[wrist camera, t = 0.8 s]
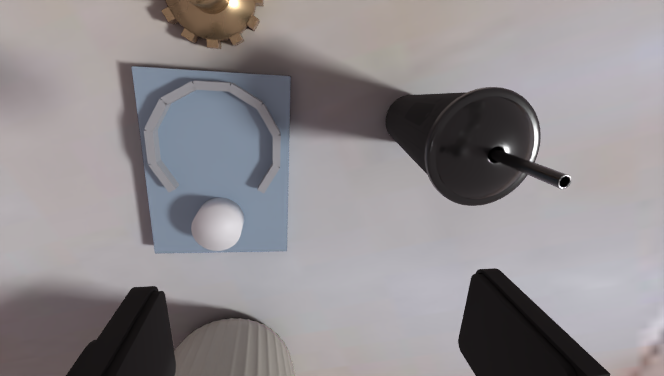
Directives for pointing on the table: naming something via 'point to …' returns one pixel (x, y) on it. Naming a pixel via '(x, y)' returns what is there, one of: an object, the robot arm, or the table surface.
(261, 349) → the canister
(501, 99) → the drinking cup
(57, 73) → the table surface
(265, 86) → the carrier plate
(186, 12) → the bronze gear
